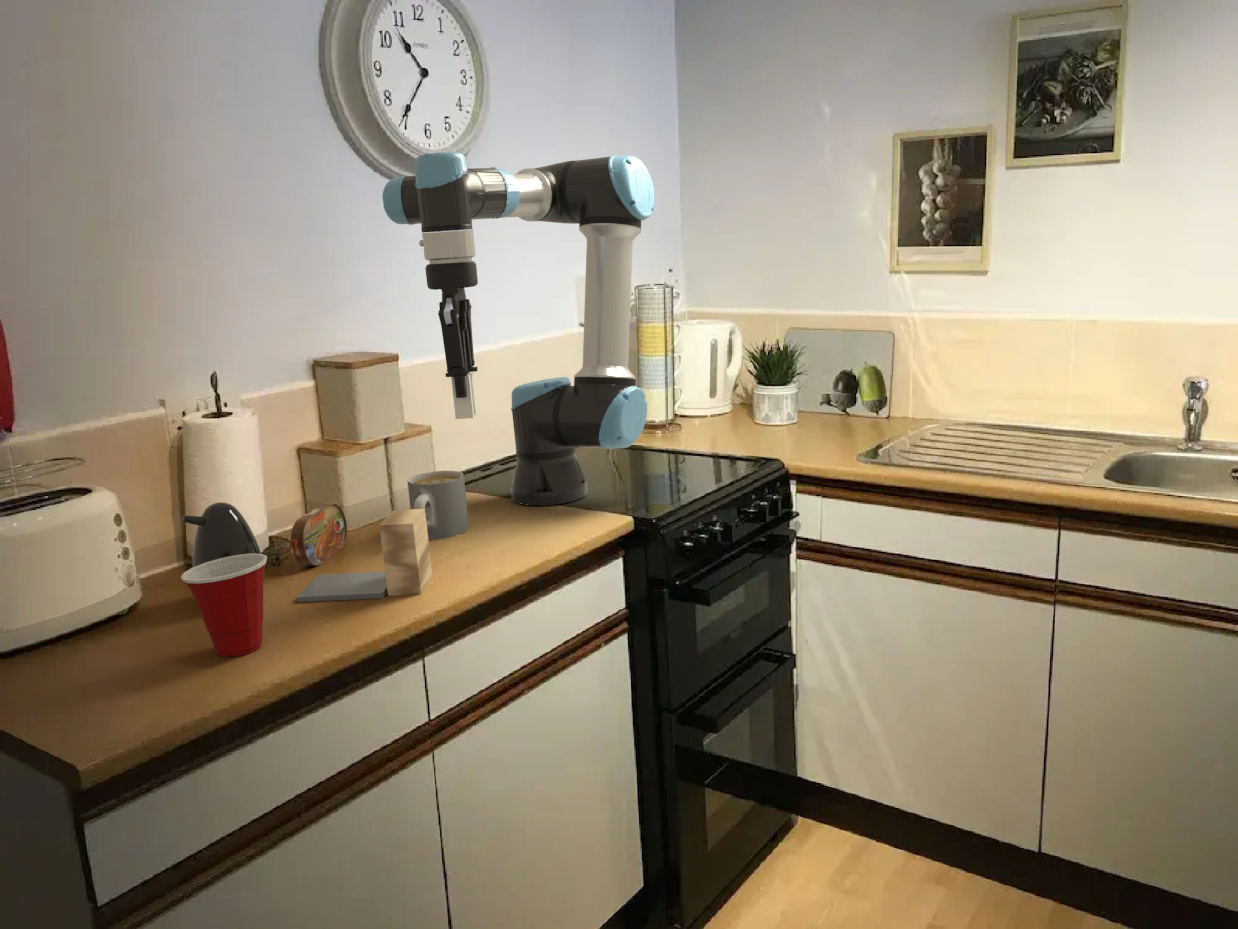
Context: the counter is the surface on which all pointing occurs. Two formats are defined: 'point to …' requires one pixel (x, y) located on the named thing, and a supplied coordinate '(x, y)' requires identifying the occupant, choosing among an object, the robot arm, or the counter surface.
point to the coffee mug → (440, 502)
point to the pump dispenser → (221, 534)
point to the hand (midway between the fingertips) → (466, 416)
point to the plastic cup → (230, 601)
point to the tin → (319, 535)
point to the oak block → (406, 551)
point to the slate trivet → (345, 587)
